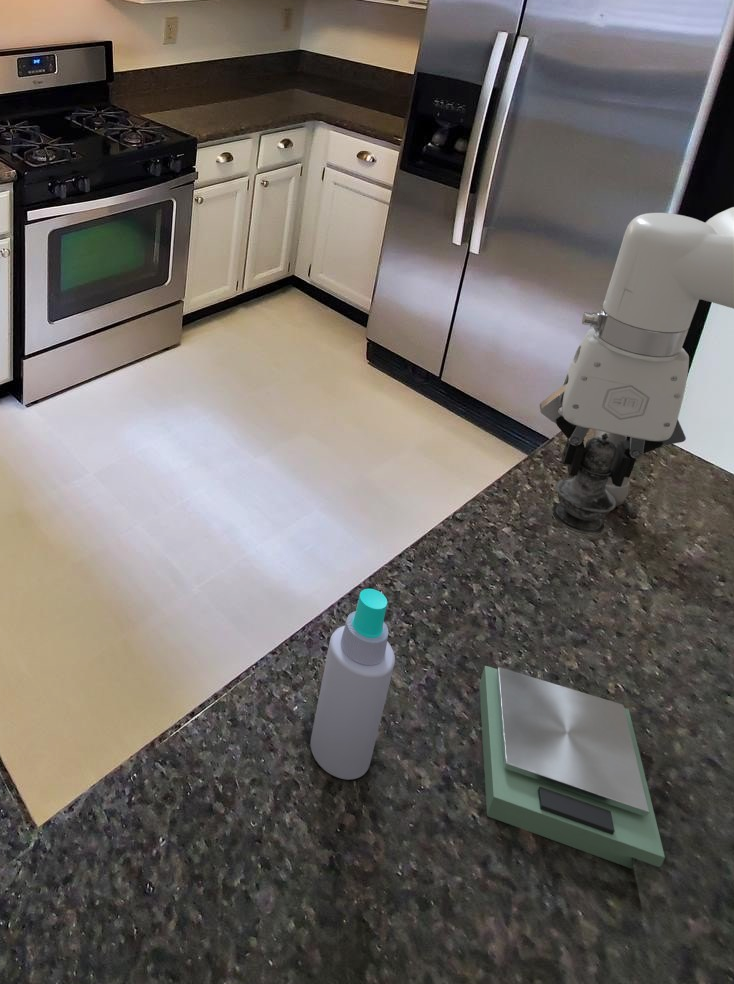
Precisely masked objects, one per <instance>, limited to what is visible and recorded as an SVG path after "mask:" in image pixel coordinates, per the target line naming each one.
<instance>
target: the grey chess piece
mask: <svg viewBox="0 0 734 984" xmlns="http://www.w3.org/2000/svg"><path fill="white" fill-rule="evenodd" d="M601 436H602V437H595V436H594V437H590V438H589V439H587V440H586V443H585V445H584V446H585V452H584V455H583V458H582V461H581V464H580V468H579V471H578V474H577V476H573V477H566V478H562V479H560V480H559V481H558V482H557V484H556V486H555V487H556V491H557V498H558V503H556V504H555V505H554V506H553V507H552V509H551V514H552V516H553V518H554V519H555V520H556V521H557V522H558V523H559V524H560V525H562V526H563V527H565V529H568V530H570V531H573V532H575V533H579V534H583V535H590V536H591V535H598V534H601V533H602V532H604V530H605V526H606V525H605V521H603V518H604V517H606V516H607V515H608V514H609V513H610V512H611V511H613V510H614V509H615V508H616V507H615V505H616V502H615V499H614V497H613V496H612V495H611V494H610V493H609V492H608V491H607V490H606V489H605V487H606V483H607V480H608V478H609V477H611V476H613V470H612V468H611V466H612V463H613V460H614V457H615V454H616V450H617V449H616V447H615V445H614V444H613V443H612V442H611V441H609V440H608V439H607V438H609V437H608V435H607V434H606V433H605V434H603V435H601Z"/></svg>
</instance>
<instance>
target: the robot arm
mask: <svg viewBox="0 0 734 984" xmlns="http://www.w3.org/2000/svg"><path fill="white" fill-rule="evenodd" d="M620 245H621V246H620V248H619V251H618V255H617V257H616V261H615V265H614V268H613V270H612V275H611V278H610V281H609V285H608V287H607V291H606V294H605V297H604V301H603V304H601V305H600V307H599V309H598V310H597V311H596V312H595V311H592V312H586V311H584V313H583V314H582V319H581V324H582V325H584V326H589V327H590V329H589V330H588V331H587V332H586V333H585V336H584V337H583V338H582V340H581V341H580V343H579V346H578V347H577V349H576V351H575V353H574V355H573V357H572V359H571V362H570V364H569V367H568V369H567V372H566V373H565V376H564V379H563V382H562V385H561V387H560V388H559V389H557V390H556V391H554V392H553V393H551V395H549V396H547V397H546V398H545V399H544V400H542V401H541V402H540V403H539V411H540V413H541V414H542V415H543V416H545V417H546V419H548V420H550V421H551V422H552V423H554V424H556V426H557V427H558V429H559V430H560V431H561V432H562V433H563V435H564V436H565V437H566V442H565V445H564V448H563V450H562V451H563V452H562V455H561V461H562V464H565V465H566V468H567V473H568V476H571V477H575V476H577V474H578V471H579V468H580V464H581V461H582V458H583V455H584V452H585V446H586V445H585V438H586V436H587V434H588V433H589V431H590V430H594V431H596V430H598V431H603V432H608V433H613V434H618V435H622V436H626V438H625V441H623V442H620V444H618V445H617V448H616V449H617V450H616V454H615V457H614V460H613V463H612V466H611V468H612V470H613V476H611V479H612V482H613V484H614V485H615V486H618V487H621V486H622V483H623V480H624V477H627V478H629V477H630V478H631V476H632V472H633V469H634V467H635V465H636V464H635V463H636V460H637V459H642V457H643V456H644V454H646V453H648V452H651V451H654V450H656V449H659V448H661V447H662V446H669V445H674V444H680V443H683V442H685V441H686V439H687V437H686V435H685V433H684V430H683V427H682V426H681V423H680V421H679V416H680V412H681V409H682V404H683V400H684V396H685V391H686V387H687V386H686V385H687V380H688V376H689V375H688V373H689V368H690V367H689V365H690V356H689V354H688V352H687V351H686V350H685V348H683V346H684V343H685V341H686V337H687V335H688V332H689V329H690V327H691V323H692V321H693V318H694V315H695V313H696V311H697V307H698V304H699V301H700V300H703V301H705V302H708V303H709V302H710V303H713V304H717V305H719V306H723V307H726V308H730V309H734V206H732V207H729V208H727V209H725V210H723V211H721V212H718V213H716V214H714V215H713V216H712V217H710V218H709V219H707V220H706V221H705V222H704V221H702V220H699V219H697V218H694V217H691V216H686V215H682V214H678V213H677V214H676V213H669V212H648V213H642V214H640V215H637V216H635V217H633V219H631V221H630V222H629V223H628V224H627V226H626V229H625V232H624V233H623V238H622V242H621V244H620ZM630 475H631V476H630Z"/></svg>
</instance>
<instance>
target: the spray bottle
mask: <svg viewBox="0 0 734 984" xmlns="http://www.w3.org/2000/svg"><path fill="white" fill-rule="evenodd" d="M357 600H358V601H357V605H356V608H355V611H352V612H350V613H349V614H348V616H347V618H346V621H345V623H344V625H341V626H339V627H338V628H336V629H335V630H334V631H333V632H332V634H331V636H330V639H329V644H328V649H327V653H326V658H325V664H324V669H323V674H322V678H321V679H322V680H321V685H320V688H319V695H318V700H317V705H316V710H315V714H314V715H315V716H314V720H313V726H312V731H311V736H310V750H311V751H310V752H311V753H312V756H313V758H314V760H315V761H316V763H317V765H318V766H319V767H321V768H322V769H323V770H324V771H325V772H326V773H327V774H329V775H331V776H333V777H335V778H337V779H342V780H346V781H347V780H356V779H359V778H361V777H363V776H364V775H365V774H366V773H367V772H368V770H369V768H370V765H371V761H372V758H373V754H374V749H375V745H376V741H377V738H378V733H379V730H380V725H381V722H382V718H383V713H384V708H385V704H386V700H387V697H388V692H389V688H390V684H391V680H392V676H393V672H394V668H395V664H396V656H395V651H394V648H393V647H392V646H391V644H390V643H389V641H388V638H389V627H388V625H387V624H386V622H385V617H386V612H387V607H388V599H387V597H386V596H385V595H384V594H383V593H382V592H381V591H379V590H377V589H374V588H364V589H362V590H361V591H360V593H359V596H358V599H357Z"/></svg>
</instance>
